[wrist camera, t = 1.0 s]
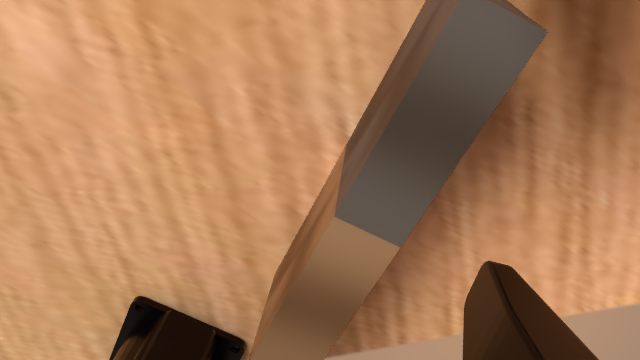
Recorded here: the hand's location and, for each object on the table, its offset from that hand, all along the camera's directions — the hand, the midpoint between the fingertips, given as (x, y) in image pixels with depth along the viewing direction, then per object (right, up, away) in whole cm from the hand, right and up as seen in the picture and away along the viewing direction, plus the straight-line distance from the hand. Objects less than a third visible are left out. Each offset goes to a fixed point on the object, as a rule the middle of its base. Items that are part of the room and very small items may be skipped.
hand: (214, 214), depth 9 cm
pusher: (+4, +2, +14) cm, 15 cm away
